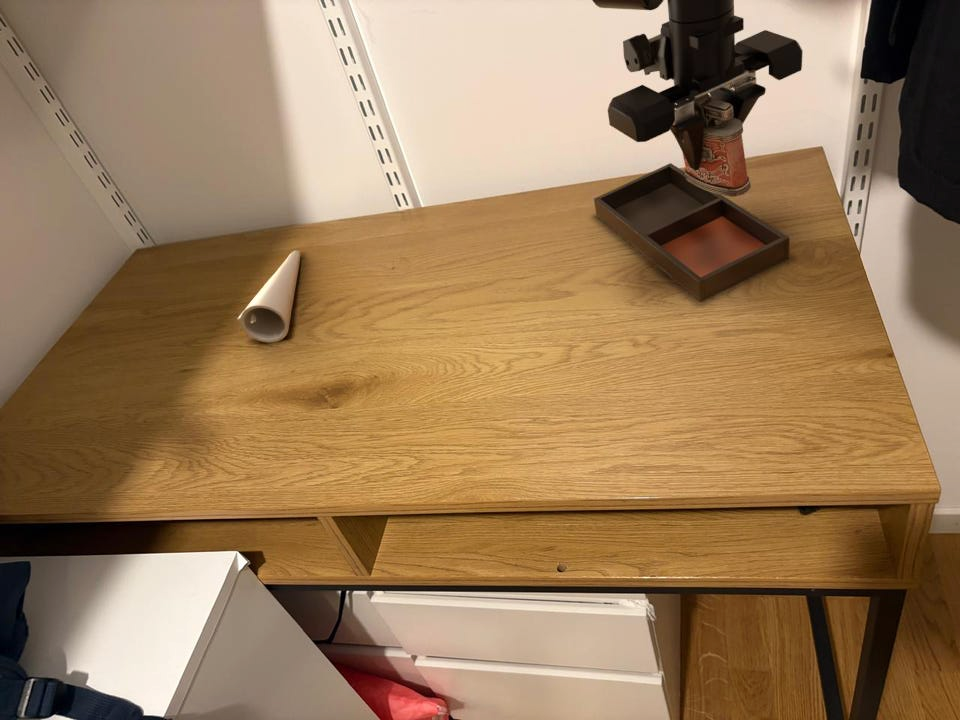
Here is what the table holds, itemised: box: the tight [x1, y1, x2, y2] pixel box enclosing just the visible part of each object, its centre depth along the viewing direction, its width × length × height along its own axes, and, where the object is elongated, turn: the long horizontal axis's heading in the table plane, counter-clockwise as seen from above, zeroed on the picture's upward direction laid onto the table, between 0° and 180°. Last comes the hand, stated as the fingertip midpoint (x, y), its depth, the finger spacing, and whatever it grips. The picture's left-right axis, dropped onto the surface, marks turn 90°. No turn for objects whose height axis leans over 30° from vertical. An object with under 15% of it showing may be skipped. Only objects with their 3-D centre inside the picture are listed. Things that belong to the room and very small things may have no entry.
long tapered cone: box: [236, 249, 301, 344], centre depth 101 cm, size 6×6×19 cm
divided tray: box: [593, 162, 791, 303], centre depth 89 cm, size 12×23×3 cm, turn 23°
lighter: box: [682, 93, 752, 198], centre depth 76 cm, size 8×3×10 cm, turn 34°
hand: (708, 162), depth 78 cm, fingers closed on lighter, 3 cm apart
